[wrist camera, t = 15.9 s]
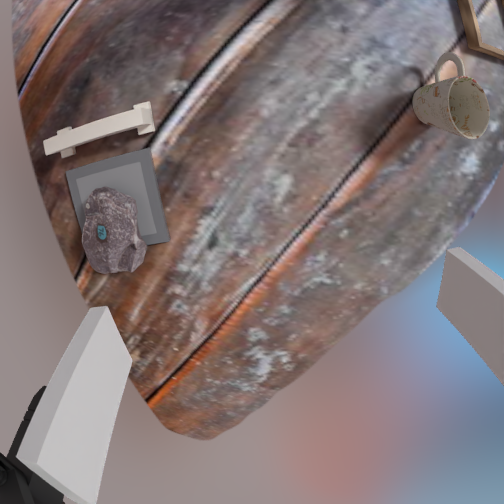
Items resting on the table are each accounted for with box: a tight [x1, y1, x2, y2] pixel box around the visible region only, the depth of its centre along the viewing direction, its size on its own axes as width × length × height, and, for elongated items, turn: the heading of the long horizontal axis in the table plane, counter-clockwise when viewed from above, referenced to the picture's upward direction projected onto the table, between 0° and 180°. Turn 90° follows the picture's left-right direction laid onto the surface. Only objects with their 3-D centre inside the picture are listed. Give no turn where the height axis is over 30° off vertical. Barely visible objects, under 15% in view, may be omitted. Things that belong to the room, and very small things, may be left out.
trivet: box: [66, 148, 170, 245], centre depth 38 cm, size 13×13×1 cm
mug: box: [413, 52, 489, 139], centre depth 30 cm, size 8×13×10 cm, turn 0°
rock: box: [82, 186, 147, 274], centre depth 36 cm, size 8×11×5 cm
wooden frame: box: [457, 0, 504, 60], centre depth 26 cm, size 17×17×3 cm
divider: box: [43, 102, 155, 158], centre depth 32 cm, size 4×14×5 cm, turn 98°
